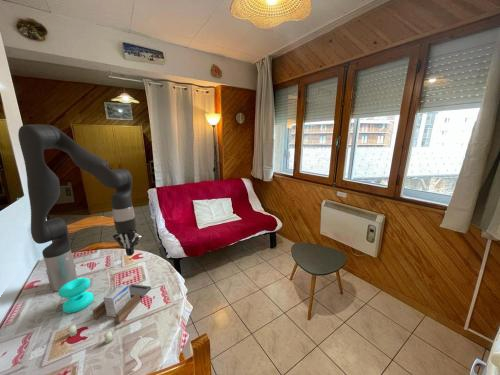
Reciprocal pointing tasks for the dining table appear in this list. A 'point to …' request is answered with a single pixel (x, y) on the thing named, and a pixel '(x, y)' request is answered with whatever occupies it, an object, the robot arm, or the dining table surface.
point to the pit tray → (138, 290)
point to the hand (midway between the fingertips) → (130, 254)
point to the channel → (122, 312)
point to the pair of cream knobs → (107, 335)
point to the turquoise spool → (76, 295)
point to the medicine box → (117, 299)
